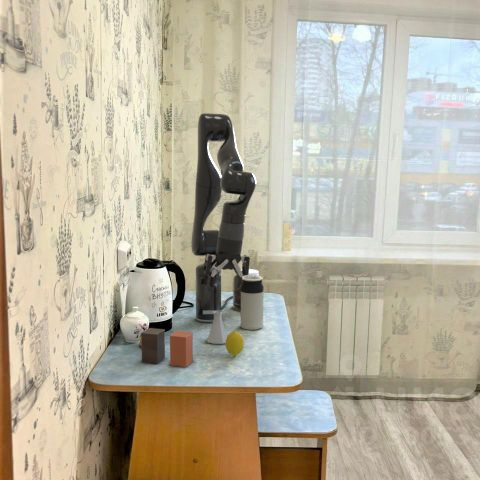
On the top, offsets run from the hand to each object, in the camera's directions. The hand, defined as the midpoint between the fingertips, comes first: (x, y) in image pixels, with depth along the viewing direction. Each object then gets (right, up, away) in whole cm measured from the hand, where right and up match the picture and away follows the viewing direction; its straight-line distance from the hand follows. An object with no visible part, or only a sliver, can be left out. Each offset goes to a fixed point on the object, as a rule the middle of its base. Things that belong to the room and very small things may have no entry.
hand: (223, 288), depth 183 cm
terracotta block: (-12, -22, -7) cm, 26 cm away
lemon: (+3, -21, -1) cm, 21 cm away
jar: (+3, -12, +53) cm, 55 cm away
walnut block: (-20, -21, -5) cm, 30 cm away
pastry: (-24, -19, +6) cm, 31 cm away
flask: (-4, -19, +13) cm, 23 cm away
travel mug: (+6, -16, +29) cm, 34 cm away
